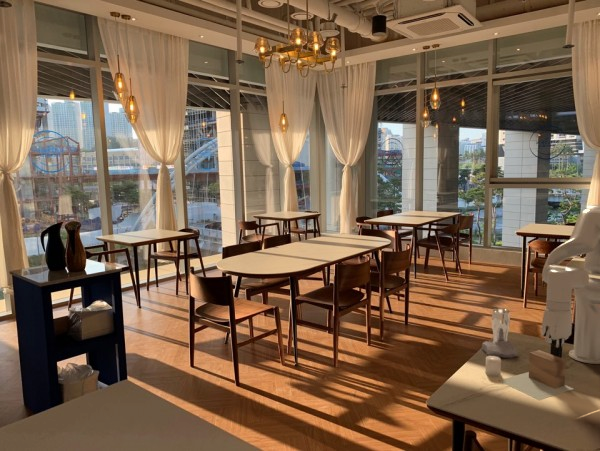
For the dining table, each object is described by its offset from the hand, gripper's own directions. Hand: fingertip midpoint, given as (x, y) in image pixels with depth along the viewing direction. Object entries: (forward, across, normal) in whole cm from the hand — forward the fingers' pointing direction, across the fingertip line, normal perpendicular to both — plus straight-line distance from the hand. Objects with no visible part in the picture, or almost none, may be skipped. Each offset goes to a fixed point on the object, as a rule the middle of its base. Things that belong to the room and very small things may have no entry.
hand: (556, 356), depth 163 cm
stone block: (+9, -3, -26) cm, 28 cm away
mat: (+8, +10, 0) cm, 13 cm away
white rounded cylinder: (+8, +15, -13) cm, 22 cm away
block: (+8, +4, 0) cm, 9 cm away
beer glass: (+8, -10, -32) cm, 35 cm away
